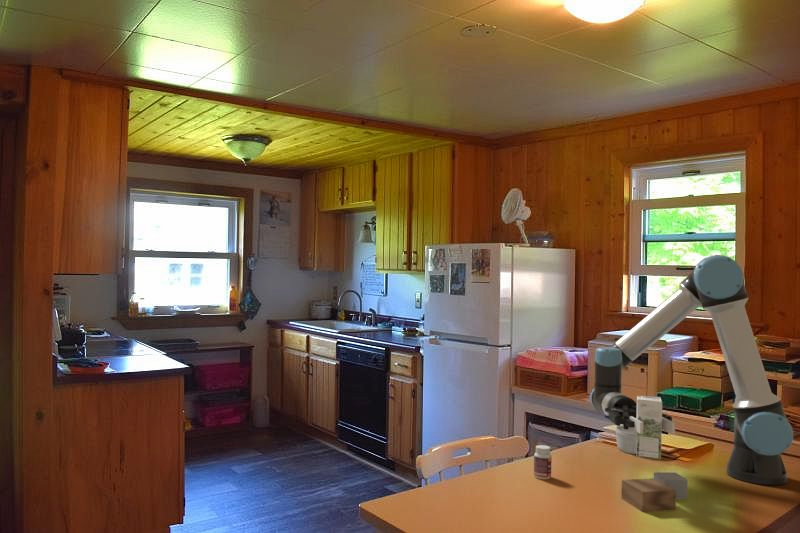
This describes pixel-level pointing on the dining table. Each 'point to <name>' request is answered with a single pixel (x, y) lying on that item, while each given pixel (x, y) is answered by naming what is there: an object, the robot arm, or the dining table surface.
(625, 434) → the ramekin
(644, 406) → the syrup box
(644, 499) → the walnut block
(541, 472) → the pill bottle
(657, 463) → the dining table surface
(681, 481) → the grey block
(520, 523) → the dining table surface
